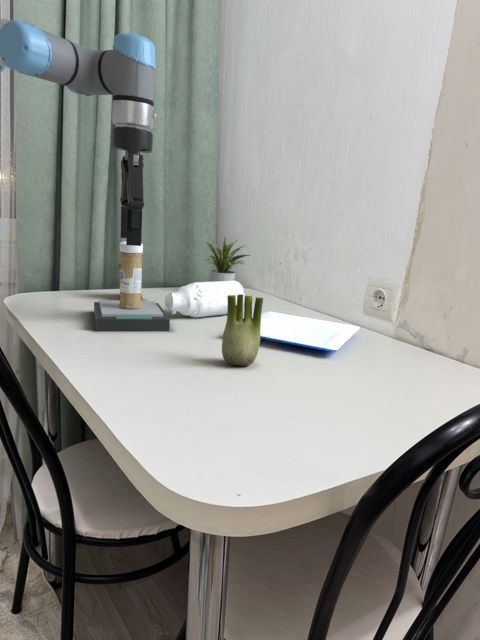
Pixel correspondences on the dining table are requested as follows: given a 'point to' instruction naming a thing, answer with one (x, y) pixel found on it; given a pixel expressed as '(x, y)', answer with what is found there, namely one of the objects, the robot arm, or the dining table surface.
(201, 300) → the white bottle
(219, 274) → the house plant
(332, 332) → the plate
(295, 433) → the dining table surface
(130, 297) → the sprinkles bottle
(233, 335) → the fennel bulb
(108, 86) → the robot arm
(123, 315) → the scale
